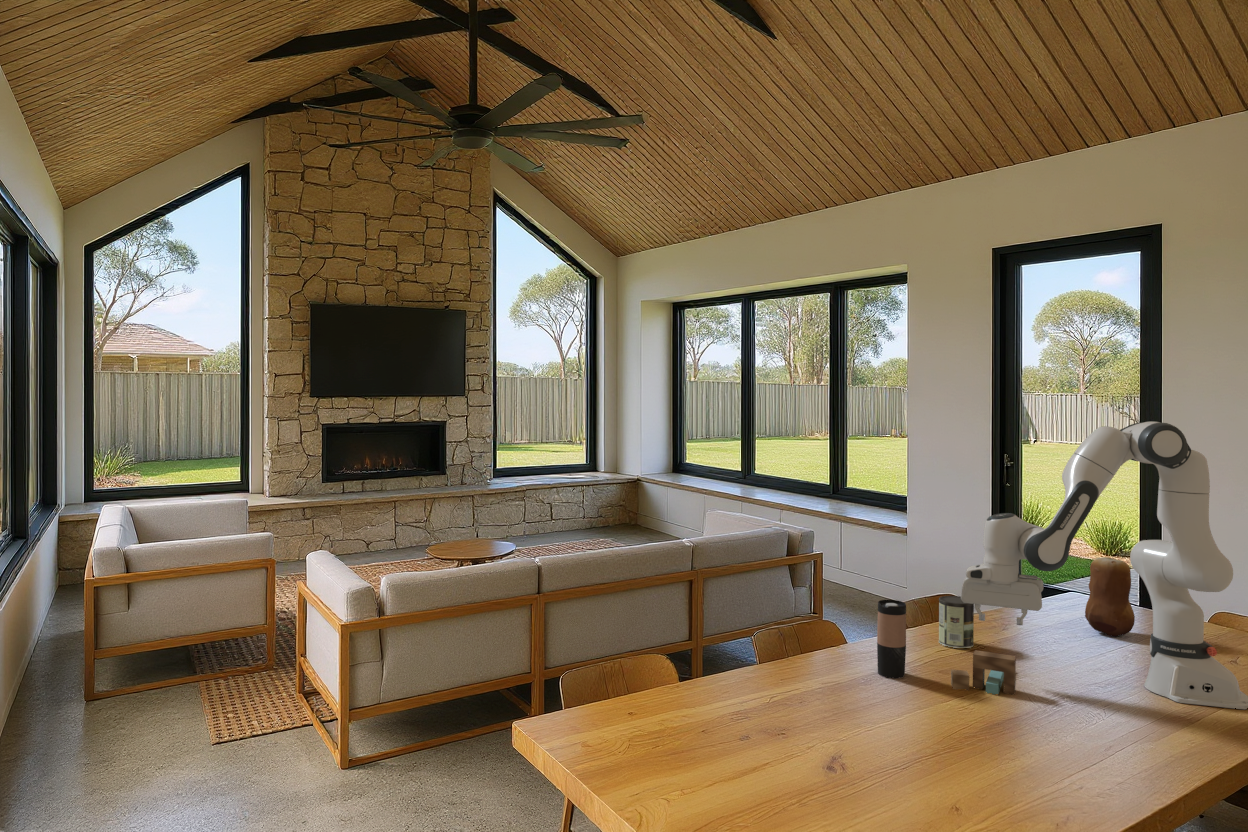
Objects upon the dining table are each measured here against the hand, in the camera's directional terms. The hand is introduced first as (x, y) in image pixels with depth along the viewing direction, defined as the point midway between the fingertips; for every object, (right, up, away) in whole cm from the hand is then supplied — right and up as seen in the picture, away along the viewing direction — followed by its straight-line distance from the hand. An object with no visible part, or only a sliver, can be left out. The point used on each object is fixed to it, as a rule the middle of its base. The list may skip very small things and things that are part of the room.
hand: (1000, 622), depth 222 cm
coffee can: (0, -15, +30) cm, 34 cm away
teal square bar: (-2, -16, -2) cm, 16 cm away
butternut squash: (+54, -15, +41) cm, 70 cm away
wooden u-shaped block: (-6, -16, -8) cm, 18 cm away
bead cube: (-14, -16, -7) cm, 22 cm away
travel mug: (-29, -15, +3) cm, 33 cm away
